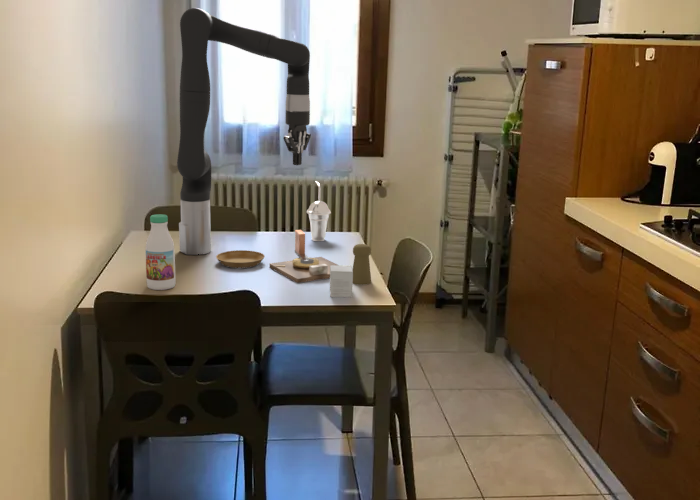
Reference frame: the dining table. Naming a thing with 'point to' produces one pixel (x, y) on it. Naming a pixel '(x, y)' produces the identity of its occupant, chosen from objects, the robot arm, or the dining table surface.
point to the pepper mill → (361, 264)
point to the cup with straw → (318, 218)
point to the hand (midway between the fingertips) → (297, 164)
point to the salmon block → (302, 252)
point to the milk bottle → (160, 255)
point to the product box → (341, 281)
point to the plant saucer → (240, 258)
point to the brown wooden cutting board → (304, 270)
